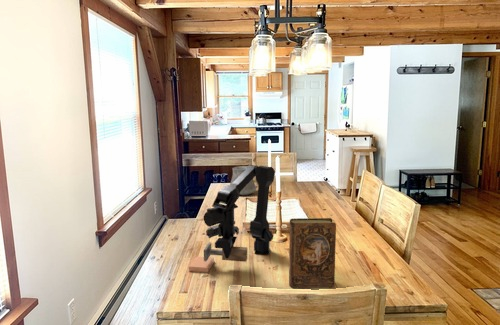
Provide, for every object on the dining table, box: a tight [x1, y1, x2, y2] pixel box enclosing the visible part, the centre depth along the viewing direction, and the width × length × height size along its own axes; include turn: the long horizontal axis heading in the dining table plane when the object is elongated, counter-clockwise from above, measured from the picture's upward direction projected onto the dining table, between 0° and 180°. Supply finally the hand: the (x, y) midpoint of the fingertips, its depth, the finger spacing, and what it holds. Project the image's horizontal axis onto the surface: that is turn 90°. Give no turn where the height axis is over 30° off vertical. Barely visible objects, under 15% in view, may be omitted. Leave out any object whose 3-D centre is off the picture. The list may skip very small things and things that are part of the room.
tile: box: [188, 256, 215, 273], centre depth 155 cm, size 2×10×8 cm
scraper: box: [203, 241, 248, 263], centre depth 153 cm, size 17×8×5 cm, turn 81°
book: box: [288, 217, 337, 289], centre depth 138 cm, size 16×6×25 cm, turn 92°
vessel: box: [229, 165, 258, 196], centre depth 277 cm, size 22×22×20 cm
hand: (227, 256), depth 153 cm, fingers closed on scraper, 3 cm apart
